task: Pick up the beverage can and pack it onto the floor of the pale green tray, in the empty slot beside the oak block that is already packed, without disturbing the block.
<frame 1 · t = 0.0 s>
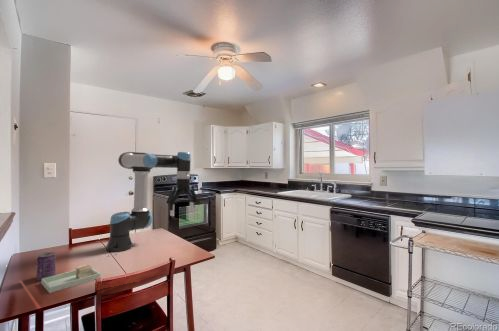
hand: (182, 214, 150), 28 cm above the table, fingers open, 13 cm apart
oak block: (83, 277, 125), point 1 cm above the table, touching pale green tray
pale green tray: (71, 282, 121), on the table
beverage can: (45, 279, 123), on the table
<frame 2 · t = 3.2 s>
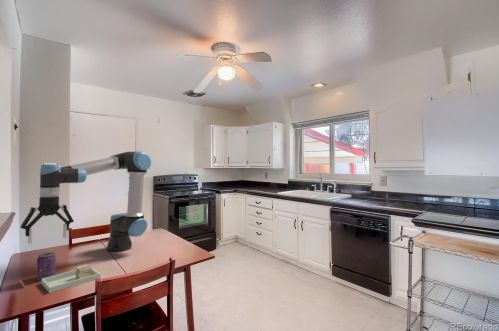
hand: (47, 240, 123), 19 cm above the table, fingers open, 13 cm apart
nothing on the table moved.
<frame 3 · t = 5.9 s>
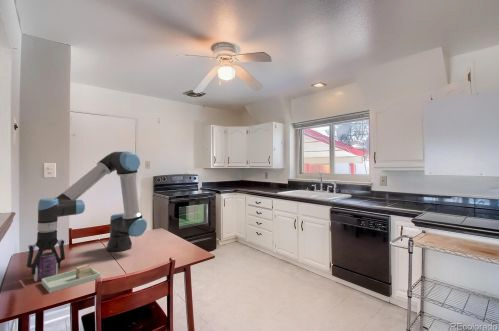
hand: (45, 277, 123), 1 cm above the table, fingers closed on beverage can, 7 cm apart
beverage can: (45, 279, 123), on the table, touching gripper
everything else where it was.
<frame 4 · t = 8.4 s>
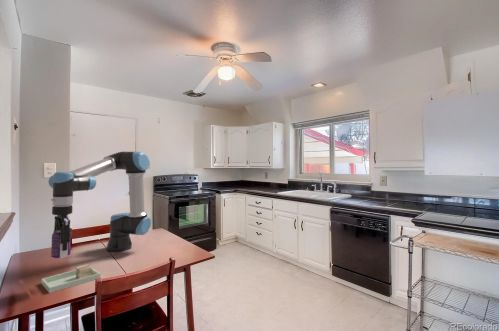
hand: (61, 255, 117), 14 cm above the table, fingers closed on beverage can, 7 cm apart
beverage can: (60, 256, 117), point 13 cm above the table, touching gripper
everything else where it was.
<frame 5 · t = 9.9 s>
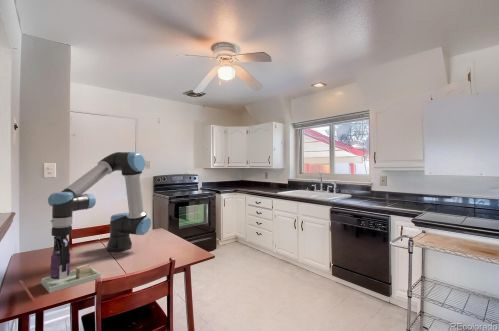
hand: (60, 275, 117), 5 cm above the table, fingers closed on beverage can, 7 cm apart
beverage can: (60, 277, 117), point 4 cm above the table, touching gripper
everything else where it was.
when the fingers open (4 cm above the table, at t = 10.9 s): beverage can drops 2 cm, resting on pale green tray.
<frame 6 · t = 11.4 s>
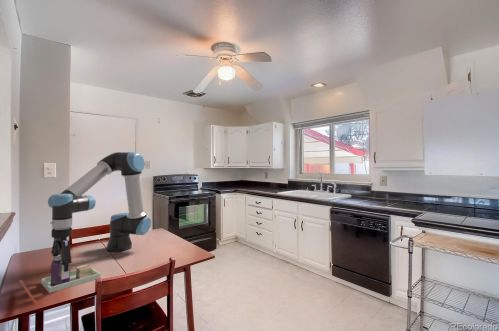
hand: (60, 273, 117), 5 cm above the table, fingers open, 13 cm apart
beverage can: (60, 284, 117), point 1 cm above the table, touching pale green tray
everything else where it was.
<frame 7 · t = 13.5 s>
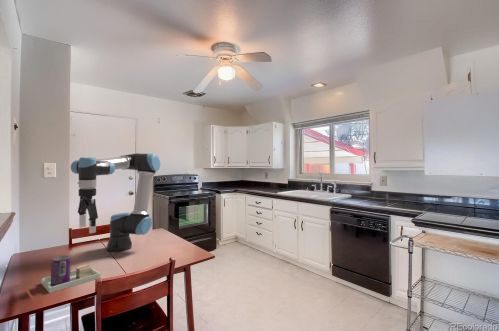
hand: (87, 229, 129), 23 cm above the table, fingers open, 13 cm apart
nothing on the table moved.
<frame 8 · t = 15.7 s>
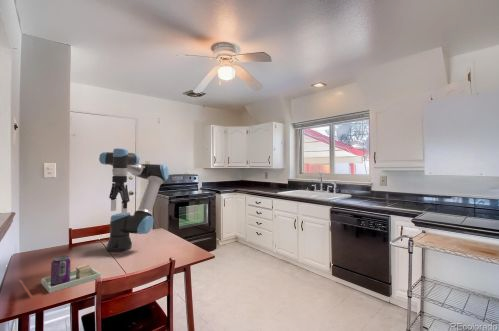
hand: (118, 212, 146), 29 cm above the table, fingers open, 13 cm apart
nothing on the table moved.
at the end: beverage can inside the target area (0.1 cm from its centre), point 0.6 cm above the table; beverage can tilted 0°; oak block moved 0.1 cm from its start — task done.
